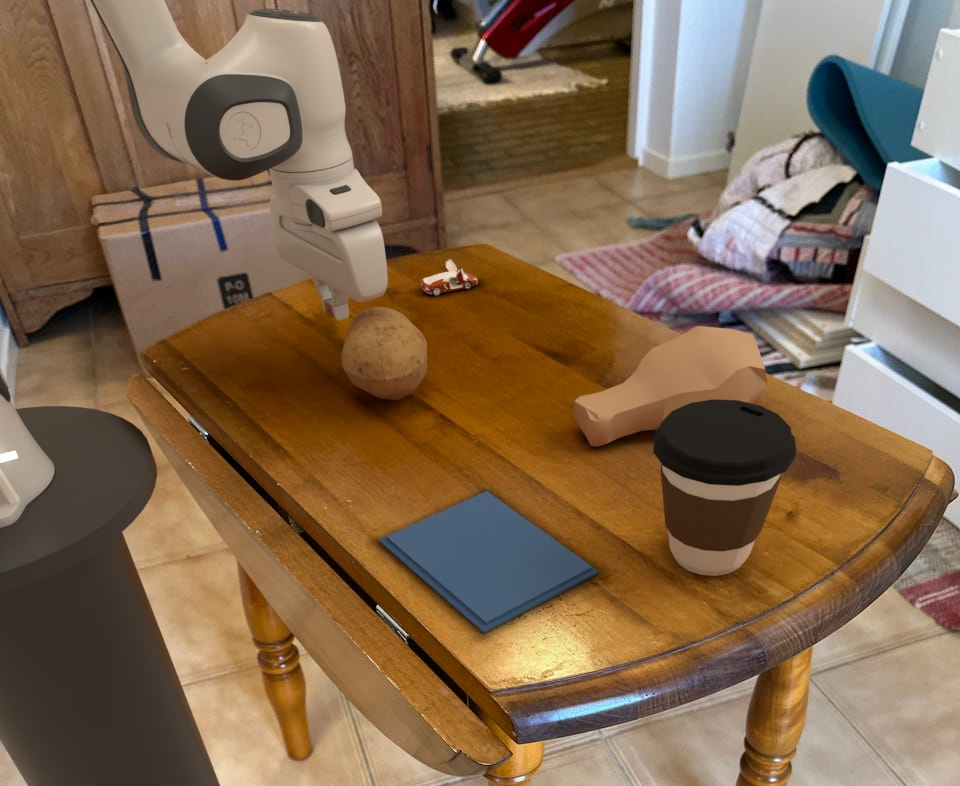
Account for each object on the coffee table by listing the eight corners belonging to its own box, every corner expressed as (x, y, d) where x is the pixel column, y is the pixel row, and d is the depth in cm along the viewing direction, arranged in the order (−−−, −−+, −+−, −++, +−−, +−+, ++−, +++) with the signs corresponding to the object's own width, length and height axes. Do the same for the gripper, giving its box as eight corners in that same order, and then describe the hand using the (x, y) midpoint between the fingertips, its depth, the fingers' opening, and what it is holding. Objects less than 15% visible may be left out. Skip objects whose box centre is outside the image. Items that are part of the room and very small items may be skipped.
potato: (352, 427, 99) (340, 357, 94) (342, 370, 110) (331, 303, 104) (442, 415, 100) (435, 344, 95) (424, 359, 110) (417, 292, 105)
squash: (783, 426, 95) (796, 353, 88) (604, 490, 93) (602, 421, 86) (731, 366, 101) (739, 294, 94) (562, 425, 99) (557, 355, 92)
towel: (483, 634, 74) (483, 628, 73) (379, 542, 83) (378, 537, 83) (598, 573, 78) (598, 568, 78) (486, 494, 88) (486, 488, 88)
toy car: (484, 289, 125) (482, 265, 123) (427, 300, 123) (425, 276, 121) (471, 276, 129) (470, 252, 127) (416, 286, 127) (414, 263, 125)
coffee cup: (691, 503, 85) (705, 382, 77) (799, 549, 79) (826, 423, 71) (618, 559, 80) (625, 435, 72) (728, 612, 74) (749, 484, 66)
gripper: (246, 176, 104) (273, 297, 113) (335, 219, 91) (357, 352, 100) (296, 163, 106) (318, 283, 116) (390, 203, 94) (405, 334, 103)
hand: (337, 315), depth 108 cm, fingers closed
